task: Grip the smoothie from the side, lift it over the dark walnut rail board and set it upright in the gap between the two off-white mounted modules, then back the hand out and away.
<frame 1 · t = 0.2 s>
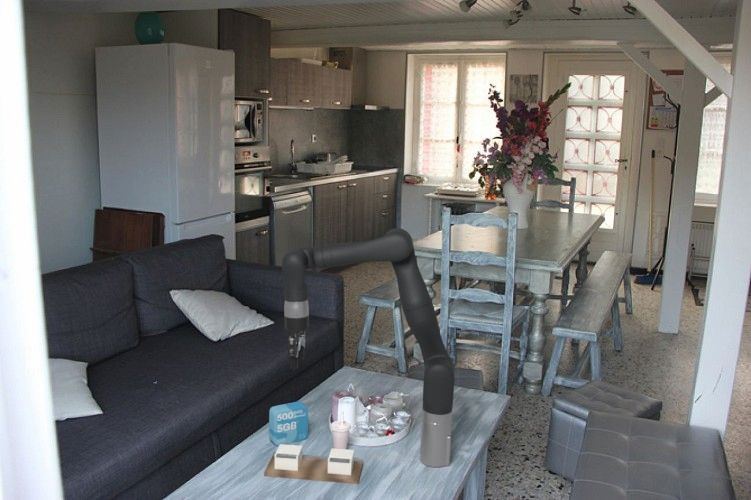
hand: (297, 364, 217), 29 cm above the table, tool pointing down, fingers open, 8 cm apart
rail board: (314, 469, 210), on the table
data package: (288, 440, 228), on the table
smoothie: (340, 453, 221), on the table
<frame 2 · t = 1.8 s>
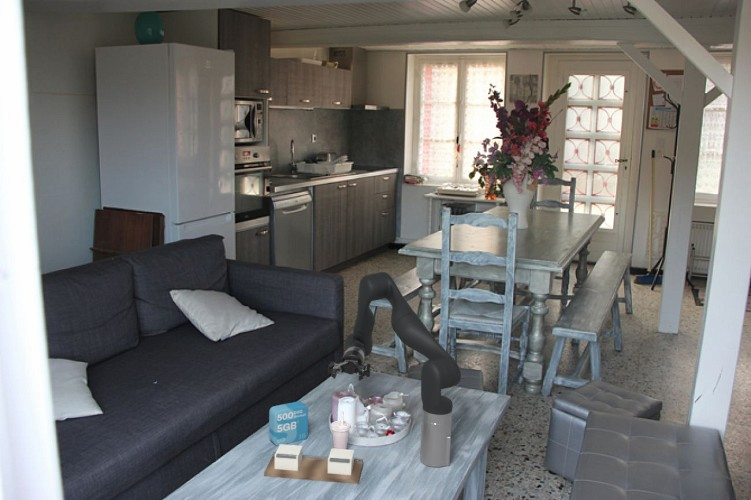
hand: (346, 376, 229), 21 cm above the table, tool horizontal, fingers open, 8 cm apart
nothing on the table moved.
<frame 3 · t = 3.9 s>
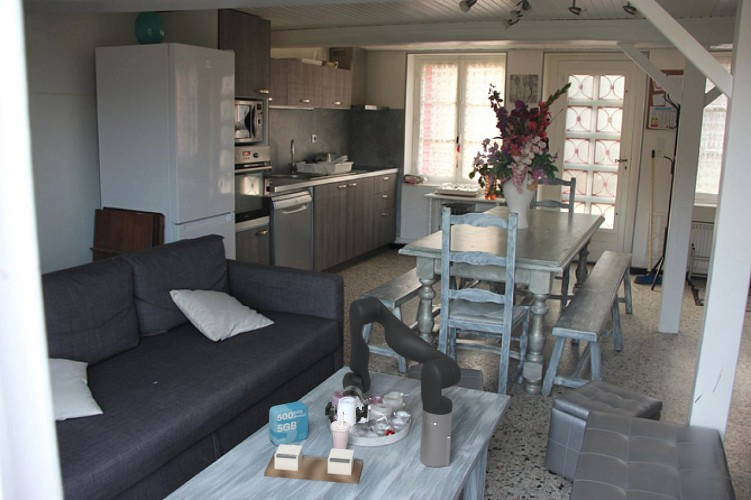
hand: (344, 419, 226), 8 cm above the table, tool horizontal, fingers open, 8 cm apart
nothing on the table moved.
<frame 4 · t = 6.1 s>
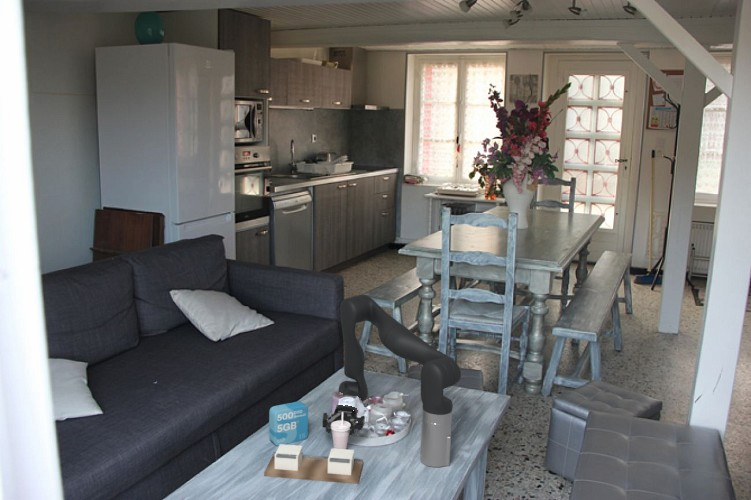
hand: (339, 431, 217), 8 cm above the table, tool horizontal, fingers closed on smoothie, 6 cm apart
smoothie: (340, 453, 221), on the table, touching gripper
everything else where it was.
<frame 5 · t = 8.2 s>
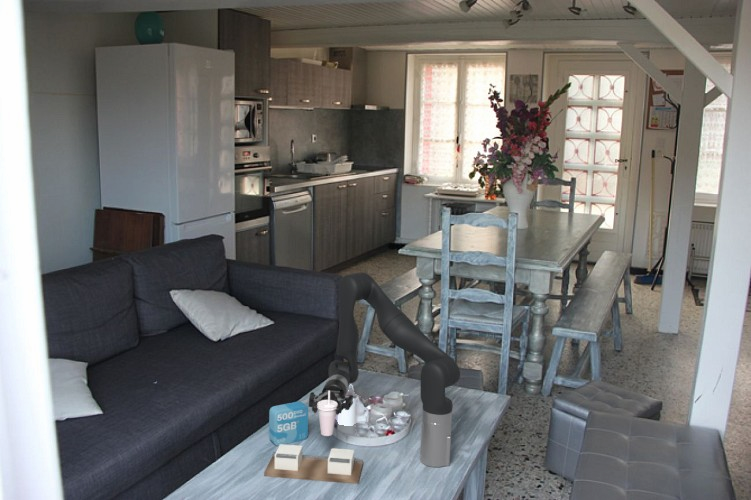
hand: (326, 410, 210), 18 cm above the table, tool horizontal, fingers closed on smoothie, 6 cm apart
smoothie: (326, 433, 214), point 9 cm above the table, touching gripper
everything else where it was.
when the fingers open (11 cm above the table, at t = 10.8 s): smoothie drops 1 cm, resting on rail board.
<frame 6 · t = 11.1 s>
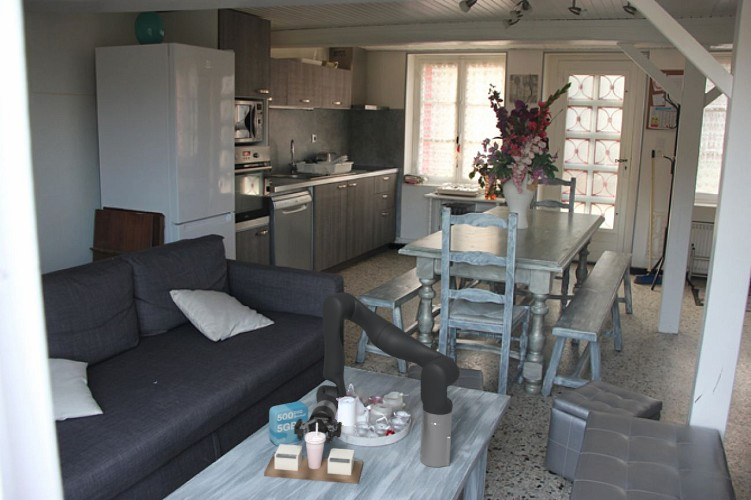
hand: (314, 438, 206), 11 cm above the table, tool horizontal, fingers open, 8 cm apart
smoothie: (314, 466, 210), point 1 cm above the table, touching rail board
everything else where it was.
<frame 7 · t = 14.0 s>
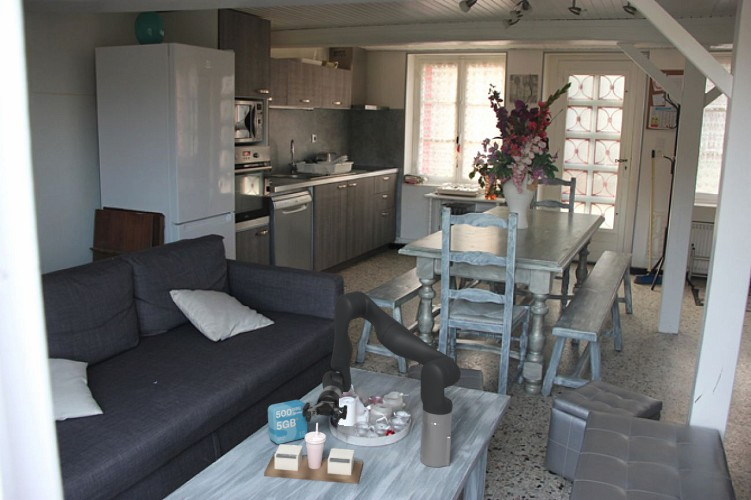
hand: (321, 420, 218), 11 cm above the table, tool horizontal, fingers open, 8 cm apart
data package: (288, 439, 228), on the table, touching hand
everything else where it was.
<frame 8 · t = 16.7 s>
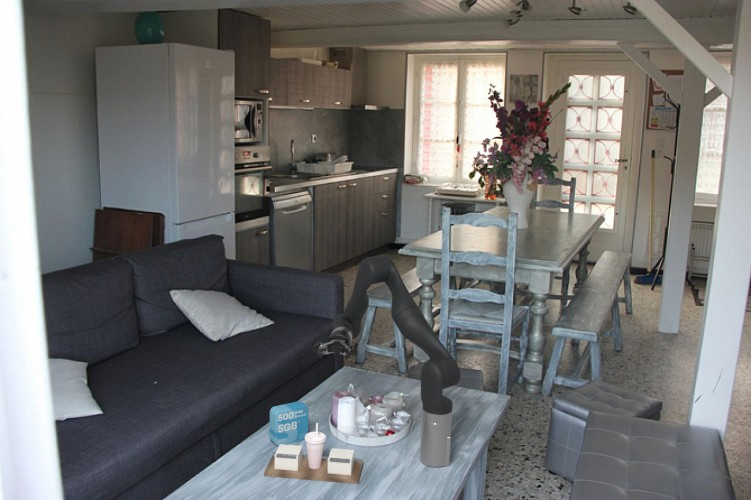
hand: (332, 355, 222), 30 cm above the table, tool horizontal, fingers open, 8 cm apart
data package: (288, 440, 228), on the table
everything else where it was.
at the end: smoothie 0.2 cm off-centre on the rail board, point 1.0 cm above the rail board's base; smoothie tilted 0°; the gripper is holding nothing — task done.
